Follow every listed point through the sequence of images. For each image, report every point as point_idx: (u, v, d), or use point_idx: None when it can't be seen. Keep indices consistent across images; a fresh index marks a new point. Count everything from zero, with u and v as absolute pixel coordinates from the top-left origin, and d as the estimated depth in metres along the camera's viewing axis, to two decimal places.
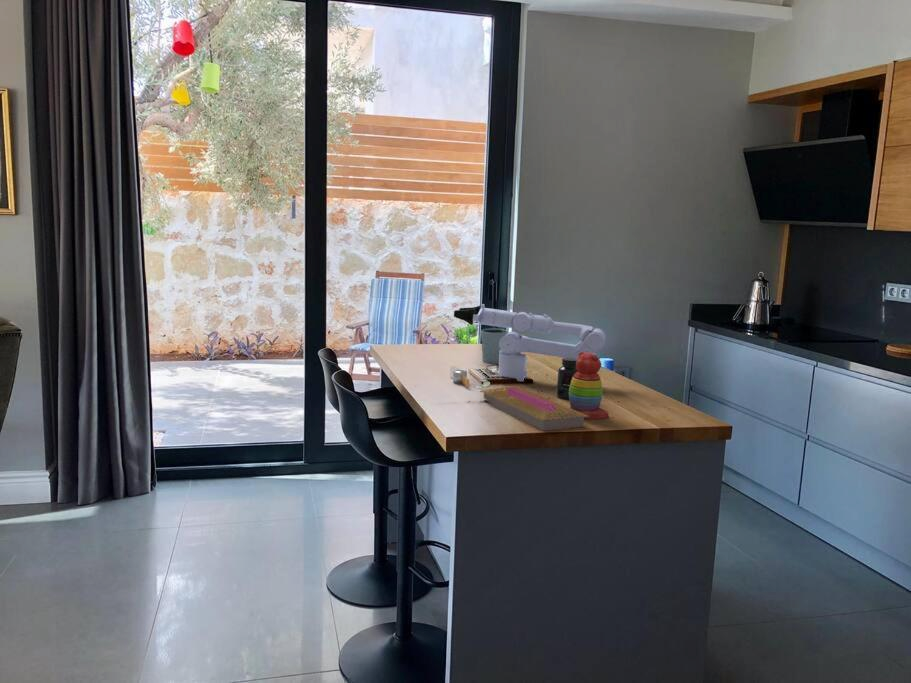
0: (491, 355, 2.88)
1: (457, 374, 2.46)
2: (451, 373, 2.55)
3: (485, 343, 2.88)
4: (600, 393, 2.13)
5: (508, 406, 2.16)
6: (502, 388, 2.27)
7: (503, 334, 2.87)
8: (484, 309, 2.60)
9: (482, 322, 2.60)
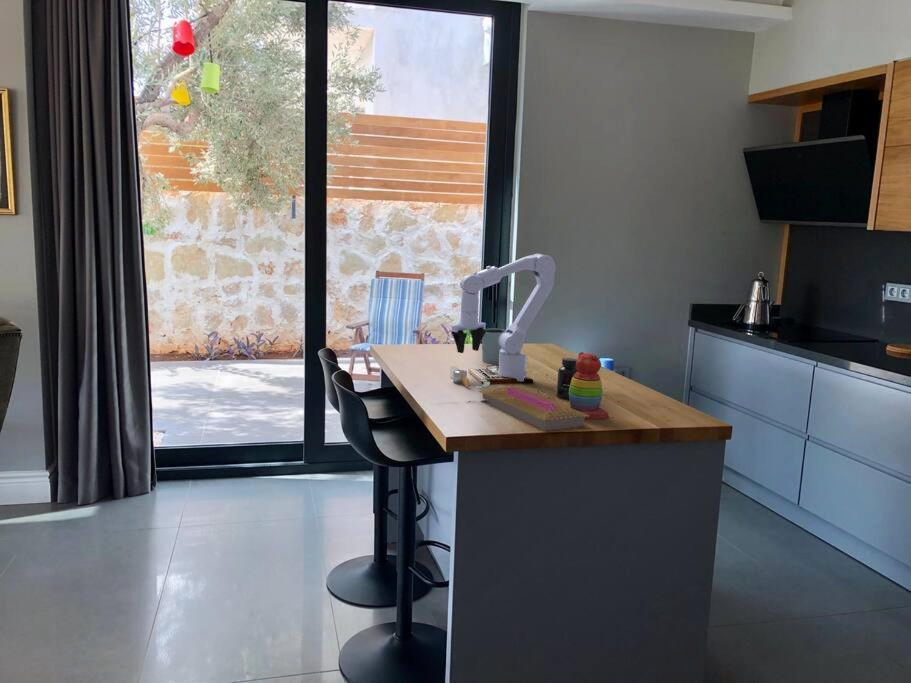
0: (491, 355, 2.88)
1: (457, 374, 2.46)
2: (451, 373, 2.55)
3: (485, 343, 2.88)
4: (600, 393, 2.13)
5: (508, 406, 2.16)
6: (501, 388, 2.27)
7: None
8: None
9: (469, 324, 2.54)
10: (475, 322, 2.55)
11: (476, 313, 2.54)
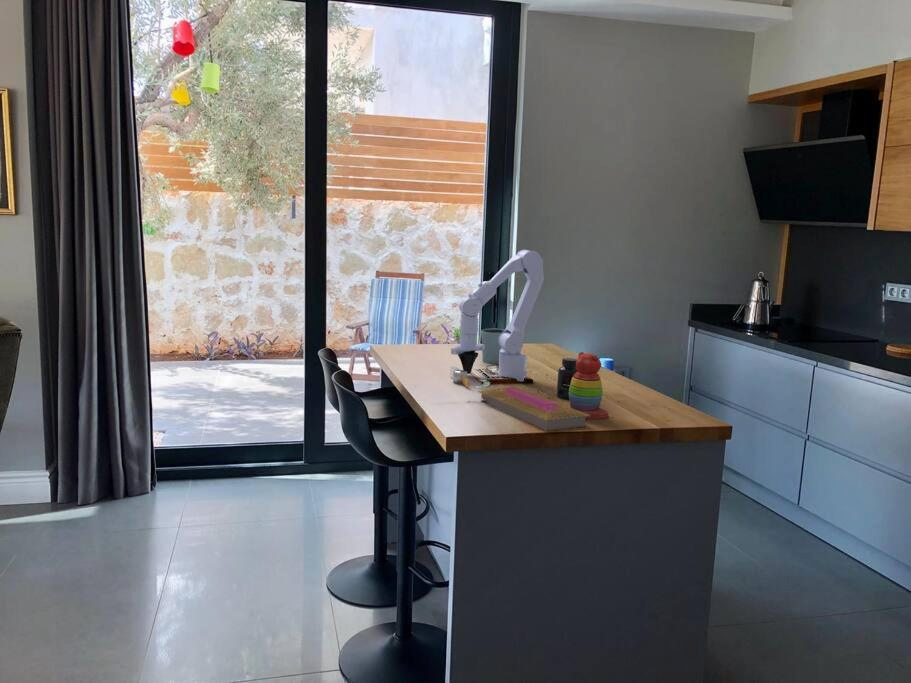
0: (491, 355, 2.88)
1: (457, 374, 2.46)
2: (451, 373, 2.55)
3: (485, 343, 2.88)
4: (600, 393, 2.13)
5: (508, 406, 2.15)
6: (500, 388, 2.27)
7: None
8: None
9: (468, 346, 2.55)
10: (474, 344, 2.56)
11: (475, 335, 2.56)
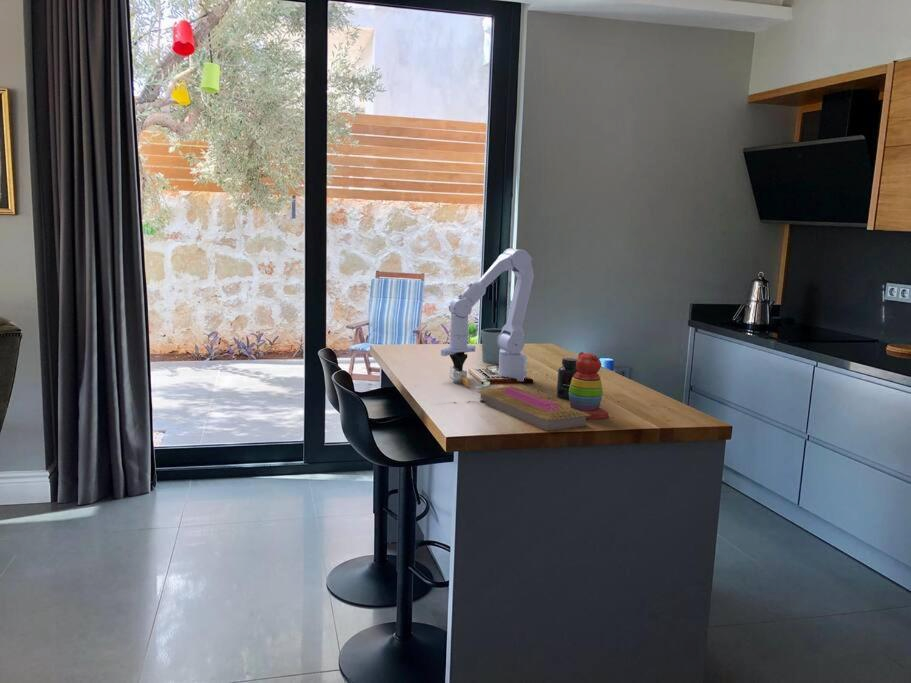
0: (491, 355, 2.88)
1: (457, 374, 2.46)
2: (451, 373, 2.55)
3: (485, 343, 2.88)
4: (600, 393, 2.13)
5: (508, 406, 2.15)
6: (499, 388, 2.26)
7: None
8: None
9: (458, 347, 2.52)
10: (465, 346, 2.53)
11: (465, 337, 2.53)
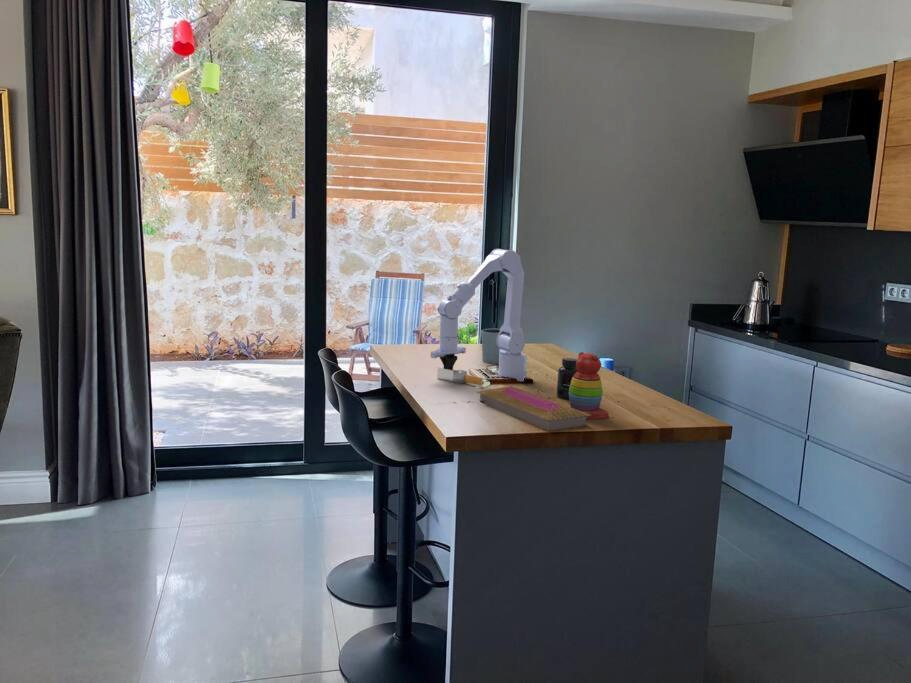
0: (491, 355, 2.88)
1: (461, 374, 2.46)
2: (440, 374, 2.52)
3: (485, 343, 2.88)
4: (600, 393, 2.13)
5: (508, 407, 2.15)
6: (499, 388, 2.26)
7: None
8: None
9: (448, 349, 2.49)
10: (454, 347, 2.49)
11: (455, 338, 2.49)
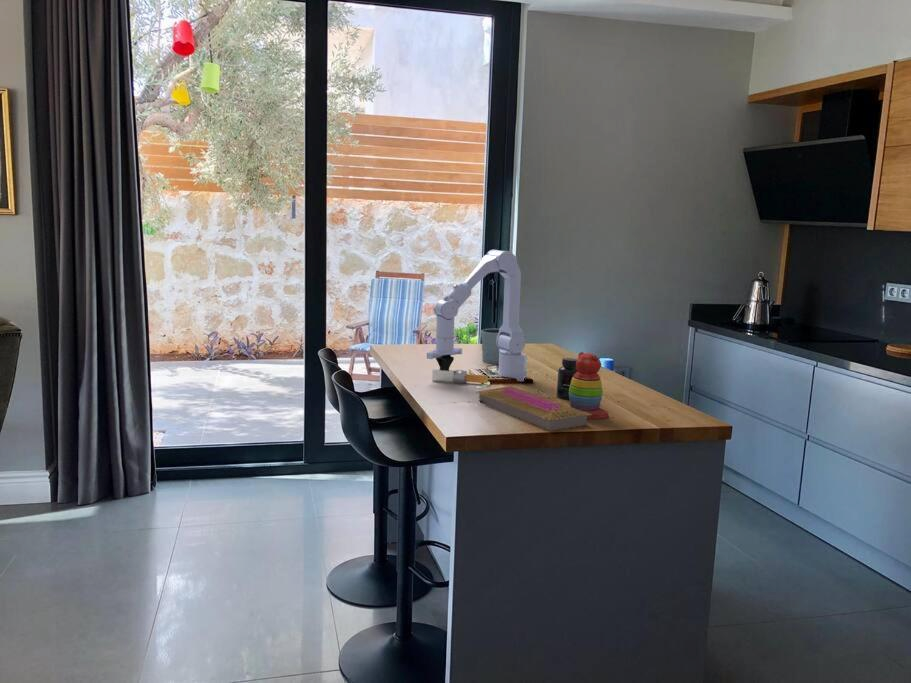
0: (491, 355, 2.88)
1: (464, 374, 2.46)
2: (436, 376, 2.49)
3: (485, 343, 2.88)
4: (600, 393, 2.13)
5: (508, 407, 2.15)
6: (498, 389, 2.26)
7: None
8: None
9: (444, 350, 2.47)
10: (451, 348, 2.48)
11: (452, 339, 2.48)
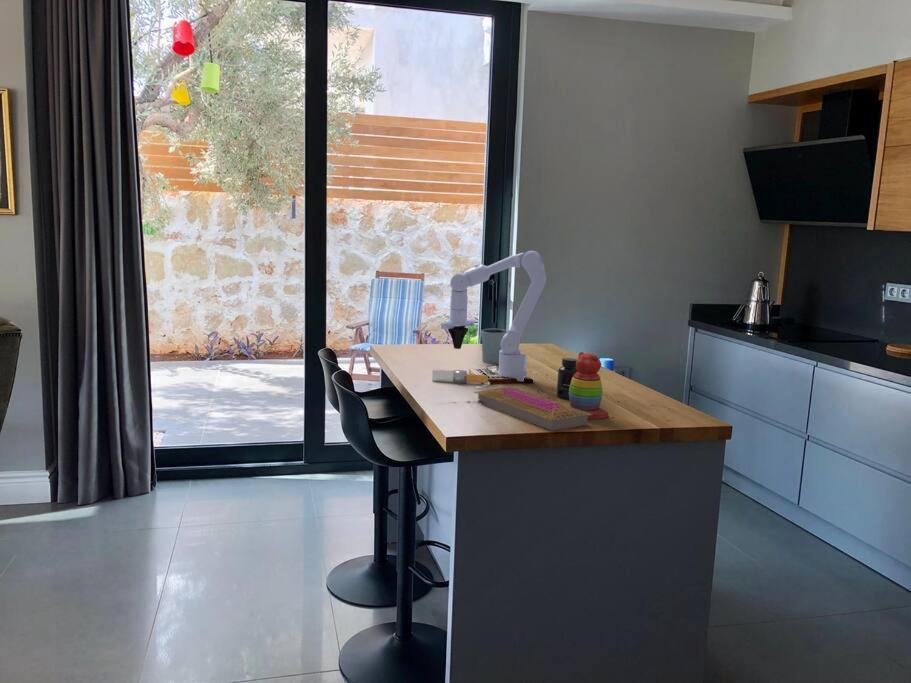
0: (491, 355, 2.88)
1: (464, 374, 2.46)
2: (436, 376, 2.49)
3: (485, 343, 2.88)
4: (600, 393, 2.13)
5: (508, 407, 2.15)
6: (497, 389, 2.26)
7: (503, 334, 2.87)
8: None
9: (458, 321, 2.59)
10: (464, 319, 2.60)
11: (465, 311, 2.60)
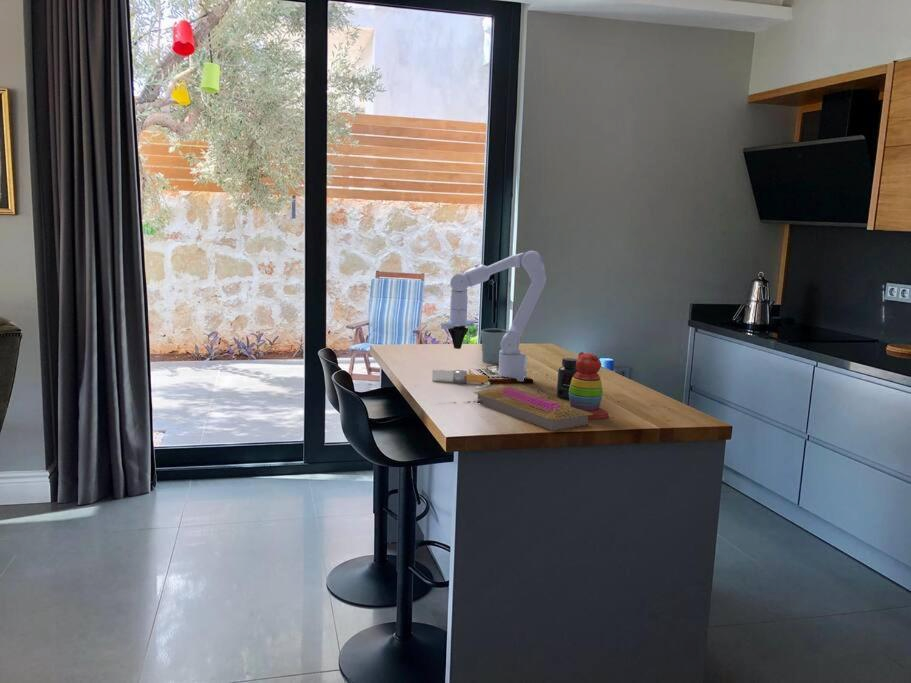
0: (491, 355, 2.88)
1: (464, 374, 2.46)
2: (436, 376, 2.49)
3: (485, 343, 2.88)
4: (600, 393, 2.13)
5: (508, 407, 2.15)
6: (496, 389, 2.26)
7: (503, 334, 2.87)
8: None
9: (458, 321, 2.59)
10: (464, 319, 2.60)
11: (465, 311, 2.60)
